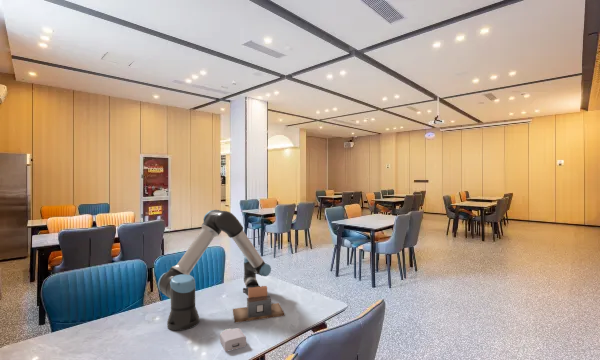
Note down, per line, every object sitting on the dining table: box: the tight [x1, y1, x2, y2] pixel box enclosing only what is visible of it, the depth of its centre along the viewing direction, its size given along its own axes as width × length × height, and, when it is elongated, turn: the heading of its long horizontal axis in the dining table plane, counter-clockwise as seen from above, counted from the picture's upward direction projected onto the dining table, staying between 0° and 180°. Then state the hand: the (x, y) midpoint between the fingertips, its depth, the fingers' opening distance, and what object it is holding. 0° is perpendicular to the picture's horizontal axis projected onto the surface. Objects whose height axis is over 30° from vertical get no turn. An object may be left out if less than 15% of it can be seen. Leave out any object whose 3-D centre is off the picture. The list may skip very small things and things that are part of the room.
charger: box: [219, 327, 247, 352], centre depth 138 cm, size 5×9×15 cm
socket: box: [246, 295, 272, 318], centre depth 163 cm, size 12×6×8 cm, turn 106°
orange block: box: [247, 285, 268, 312], centre depth 164 cm, size 10×9×12 cm
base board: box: [232, 302, 285, 324], centre depth 166 cm, size 26×14×2 cm, turn 106°
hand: (257, 299), depth 169 cm, fingers closed
